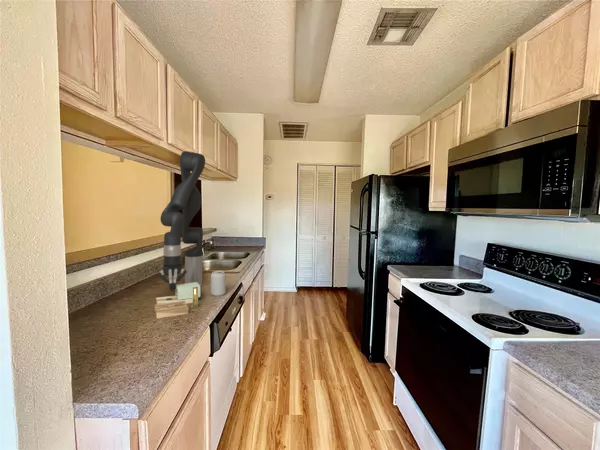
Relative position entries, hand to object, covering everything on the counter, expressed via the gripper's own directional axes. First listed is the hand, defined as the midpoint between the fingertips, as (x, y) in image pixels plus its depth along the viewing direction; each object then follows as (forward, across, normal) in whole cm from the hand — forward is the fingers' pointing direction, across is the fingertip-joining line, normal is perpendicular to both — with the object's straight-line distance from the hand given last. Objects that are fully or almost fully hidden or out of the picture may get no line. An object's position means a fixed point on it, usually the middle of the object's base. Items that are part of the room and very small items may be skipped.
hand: (172, 290), depth 132 cm
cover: (+4, -7, 0) cm, 8 cm away
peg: (+5, -8, +12) cm, 16 cm away
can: (+6, -22, -2) cm, 23 cm away
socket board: (+5, +2, +13) cm, 14 cm away
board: (+5, -1, 0) cm, 5 cm away
